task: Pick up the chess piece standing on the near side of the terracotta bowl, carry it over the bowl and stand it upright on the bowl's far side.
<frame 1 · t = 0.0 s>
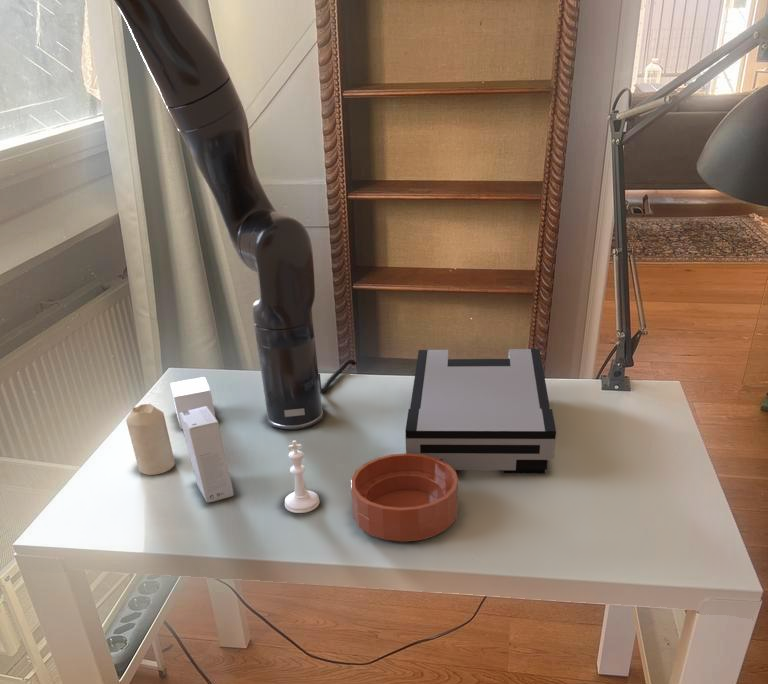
cosmetic box: (214, 491, 115), on the table
game console: (478, 430, 127), on the table
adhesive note: (196, 419, 134), on the table
candle: (157, 467, 122), on the table
chess piece: (302, 504, 111), on the table
bowl: (405, 514, 107), on the table
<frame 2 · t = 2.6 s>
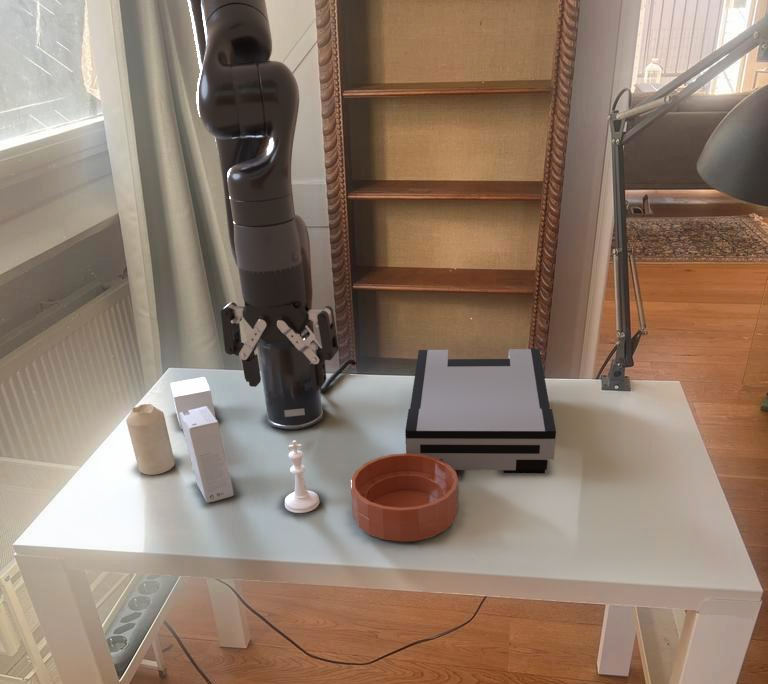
hand: (286, 386, 100), 18 cm above the table, tool pointing down, fingers open, 8 cm apart
nothing on the table moved.
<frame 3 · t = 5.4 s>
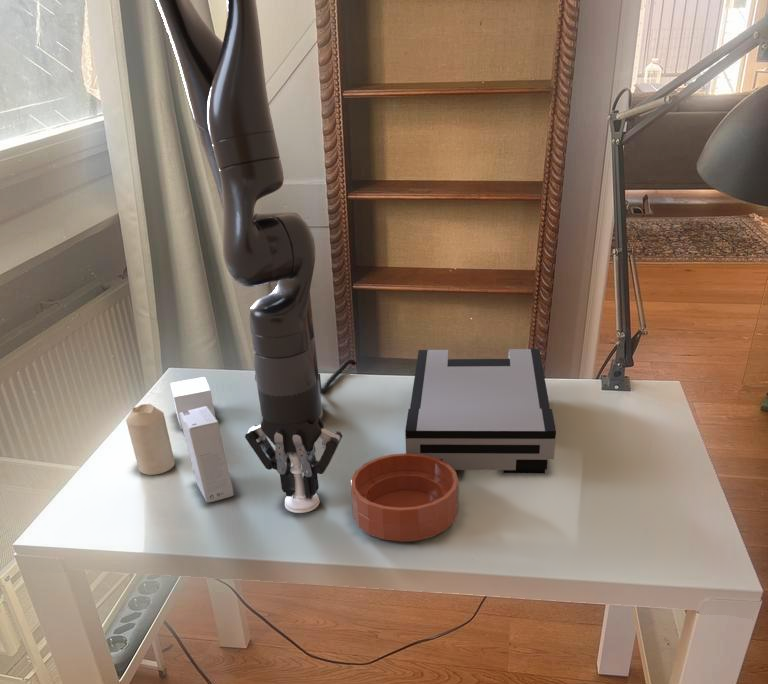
hand: (300, 494, 110), 2 cm above the table, tool pointing down, fingers closed on chess piece, 2 cm apart
chess piece: (302, 504, 111), on the table, touching gripper
everything else where it was.
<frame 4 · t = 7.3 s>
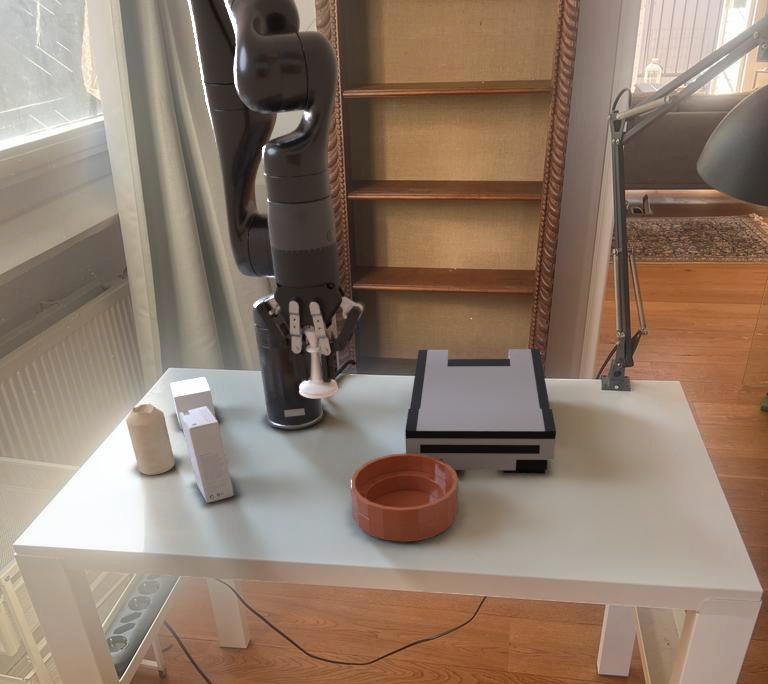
hand: (317, 378, 98), 20 cm above the table, tool pointing down, fingers closed on chess piece, 2 cm apart
chess piece: (318, 391, 99), point 18 cm above the table, touching gripper
everything else where it was.
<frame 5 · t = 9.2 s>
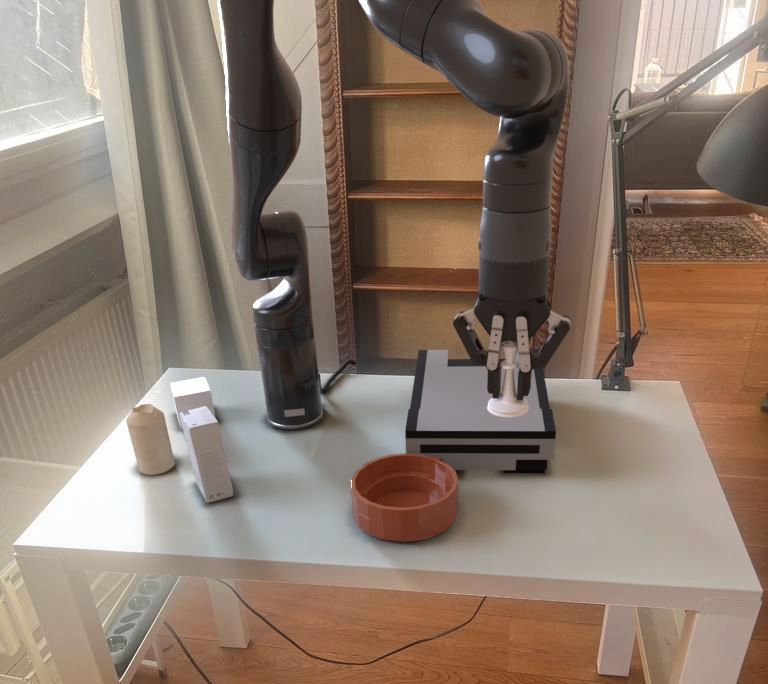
hand: (508, 396, 93), 19 cm above the table, tool pointing down, fingers closed on chess piece, 2 cm apart
chess piece: (507, 409, 94), point 17 cm above the table, touching gripper
everything else where it was.
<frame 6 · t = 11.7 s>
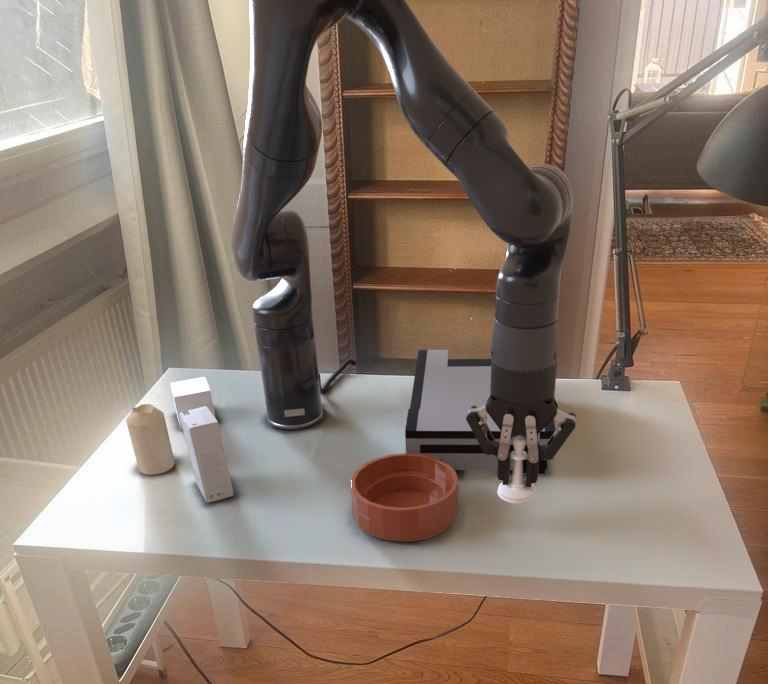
hand: (517, 482, 100), 7 cm above the table, tool pointing down, fingers closed on chess piece, 2 cm apart
chess piece: (516, 494, 101), point 5 cm above the table, touching gripper
everything else where it was.
when the fingers open (2 cm above the table, at t = 13.2 s): chess piece stays where it is, on the table.
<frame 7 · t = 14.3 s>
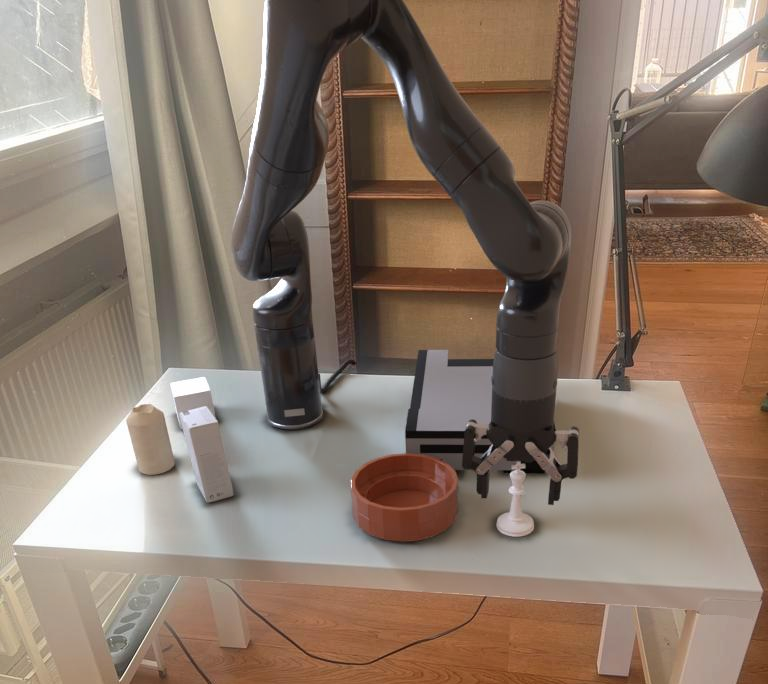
hand: (517, 498, 101), 4 cm above the table, tool pointing down, fingers open, 8 cm apart
chess piece: (515, 527, 104), on the table
everything else where it was.
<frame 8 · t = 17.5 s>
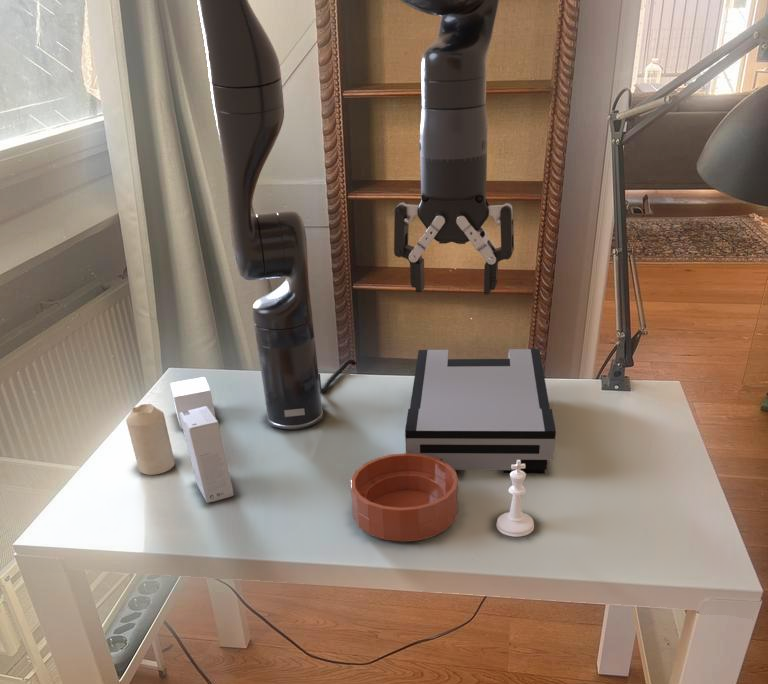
hand: (453, 291, 97), 28 cm above the table, tool pointing down, fingers open, 8 cm apart
nothing on the table moved.
at the end: chess piece inside the target area (0.2 cm from its centre), on the table; chess piece tilted 0°; the gripper is holding nothing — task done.
